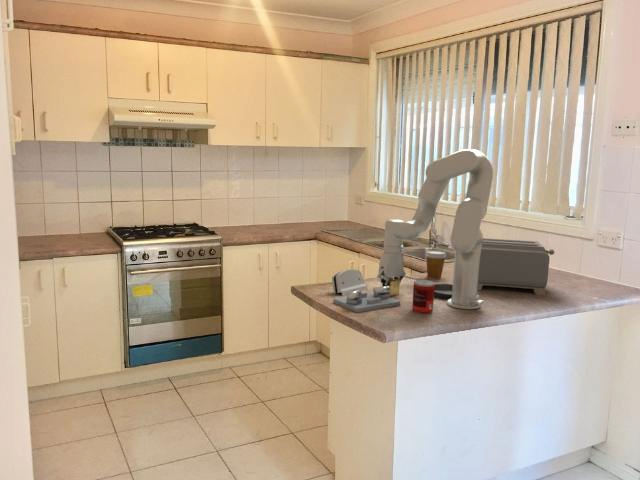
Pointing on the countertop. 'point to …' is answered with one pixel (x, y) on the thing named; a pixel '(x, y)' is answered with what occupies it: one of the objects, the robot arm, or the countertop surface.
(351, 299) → the shaft
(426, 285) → the canned food
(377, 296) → the shaft
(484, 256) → the toaster
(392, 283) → the coupler
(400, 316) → the countertop surface
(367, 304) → the board
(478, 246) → the robot arm
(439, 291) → the frying pan
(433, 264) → the disposable coffee cup
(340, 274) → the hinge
